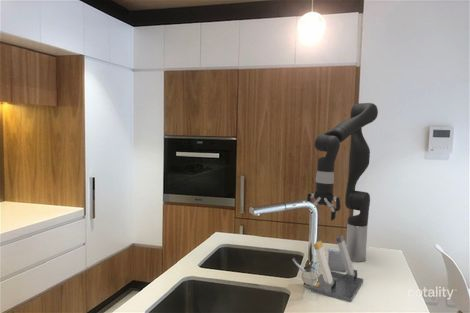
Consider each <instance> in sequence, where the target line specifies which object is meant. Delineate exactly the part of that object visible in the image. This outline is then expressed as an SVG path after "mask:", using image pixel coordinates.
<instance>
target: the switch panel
mask: <svg viewBox="0 0 470 313" xmlns="http://www.w3.org/2000/svg"><path fill="white" fill-rule="evenodd" d="M353 270H354V272H355V274H356V275H355V277H354V276H353V275H349V274H347V273H346V274H344V273H342V272H341V273H340V272H338V271H337V272H336V271H334V270H330V272H331V275H332V279H333V281H334V285H333V286H332V284H328V283H325V282H324V278H323V275H322V273H320V275H319V276H318V277H317V278H318V281H317V285H315V286H311V285H309V287H308V291H309V290H311V291H310V292H312V291H313V293H316V294H320V295H324V296H327V297H331V298H334V299H338V300H342V301H345V302H349V303H352V302H353V300H354V298H355V297H356V294H357V293H358V291H359V289H361V286H363V284H364V278H363V277H358V270H357V269H354V268H353Z"/></svg>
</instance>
